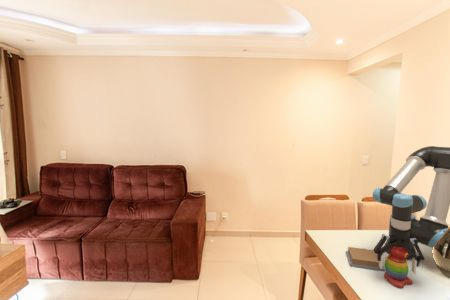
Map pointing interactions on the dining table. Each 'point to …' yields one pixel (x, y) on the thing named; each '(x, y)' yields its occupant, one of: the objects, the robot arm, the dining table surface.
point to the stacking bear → (397, 267)
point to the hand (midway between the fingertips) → (396, 269)
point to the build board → (363, 259)
